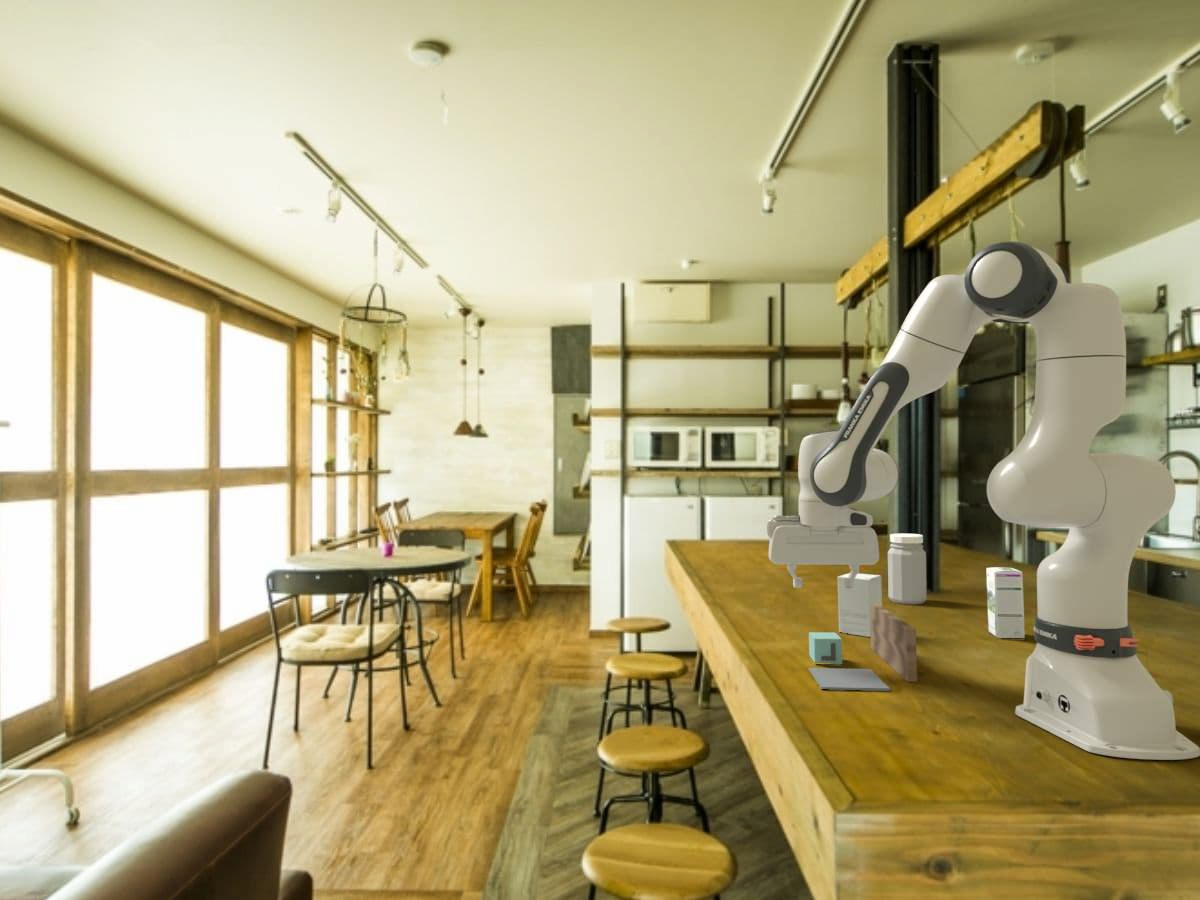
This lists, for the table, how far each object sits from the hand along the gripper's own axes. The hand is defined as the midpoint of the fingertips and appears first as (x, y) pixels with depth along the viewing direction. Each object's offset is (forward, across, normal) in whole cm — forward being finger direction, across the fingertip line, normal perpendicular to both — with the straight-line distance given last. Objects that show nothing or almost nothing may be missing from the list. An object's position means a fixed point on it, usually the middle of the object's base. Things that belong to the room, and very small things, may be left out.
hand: (822, 587), depth 136 cm
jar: (+15, +35, +60) cm, 71 cm away
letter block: (+14, 0, 0) cm, 14 cm away
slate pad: (+14, +1, -12) cm, 19 cm away
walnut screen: (+14, +12, -2) cm, 19 cm away
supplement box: (+15, +13, +23) cm, 31 cm away
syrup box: (+14, +43, +22) cm, 50 cm away
